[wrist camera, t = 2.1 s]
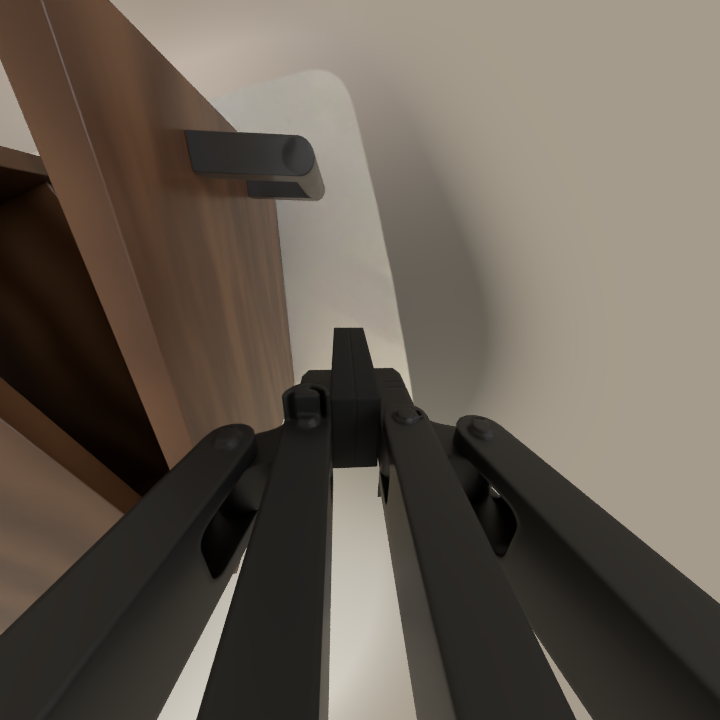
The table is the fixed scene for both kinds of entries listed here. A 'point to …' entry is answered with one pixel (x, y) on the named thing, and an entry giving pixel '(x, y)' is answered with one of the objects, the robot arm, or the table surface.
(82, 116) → the door
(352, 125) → the table surface
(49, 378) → the cupboard
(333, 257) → the table surface
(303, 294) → the table surface
